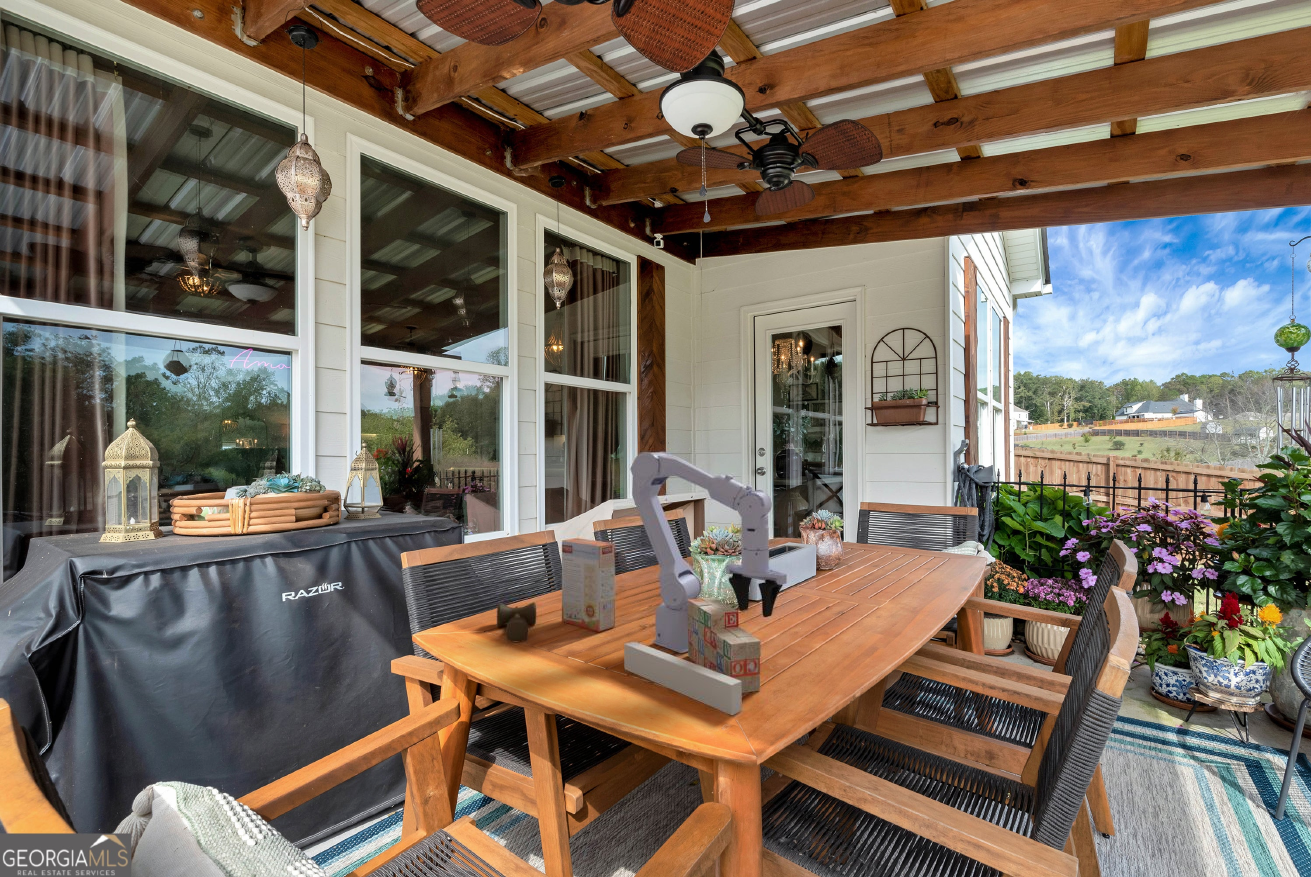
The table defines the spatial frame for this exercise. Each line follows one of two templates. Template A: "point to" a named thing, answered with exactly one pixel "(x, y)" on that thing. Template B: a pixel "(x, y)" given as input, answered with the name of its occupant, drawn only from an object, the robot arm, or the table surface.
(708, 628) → the stack of blocks
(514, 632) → the kendama
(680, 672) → the grey board
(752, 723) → the table surface
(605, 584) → the cracker box
